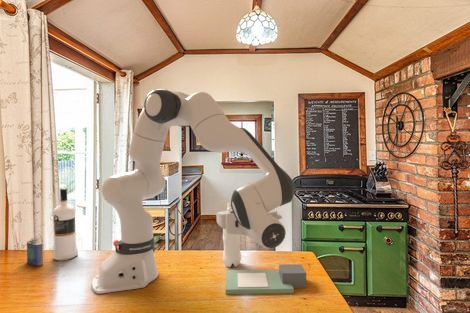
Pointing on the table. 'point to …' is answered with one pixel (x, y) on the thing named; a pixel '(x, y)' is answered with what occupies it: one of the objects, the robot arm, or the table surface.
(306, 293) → the table surface
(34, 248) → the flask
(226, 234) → the water bottle
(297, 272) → the green board with pad
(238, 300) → the table surface
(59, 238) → the vodka
